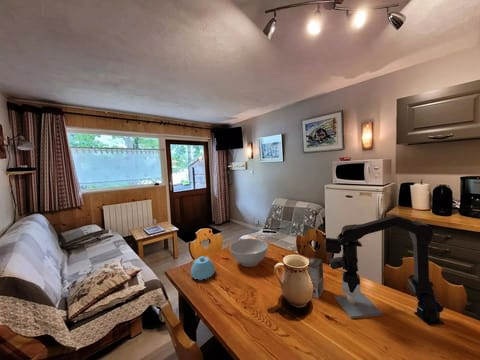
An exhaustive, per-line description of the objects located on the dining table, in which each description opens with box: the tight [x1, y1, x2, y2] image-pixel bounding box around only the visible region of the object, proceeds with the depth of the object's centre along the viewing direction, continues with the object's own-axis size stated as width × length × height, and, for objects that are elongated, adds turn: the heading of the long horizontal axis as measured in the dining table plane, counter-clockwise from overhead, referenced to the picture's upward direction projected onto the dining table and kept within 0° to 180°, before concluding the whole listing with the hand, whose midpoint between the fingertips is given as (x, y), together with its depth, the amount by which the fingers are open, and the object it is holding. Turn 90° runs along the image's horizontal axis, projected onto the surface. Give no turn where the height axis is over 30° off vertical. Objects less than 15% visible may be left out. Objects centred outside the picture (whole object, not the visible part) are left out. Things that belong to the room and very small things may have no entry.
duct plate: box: [334, 293, 384, 320], centre depth 89 cm, size 14×13×6 cm
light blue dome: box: [190, 255, 216, 281], centre depth 125 cm, size 15×15×12 cm
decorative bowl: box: [229, 238, 269, 268], centre depth 136 cm, size 27×27×12 cm
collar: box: [341, 273, 362, 296], centre depth 89 cm, size 7×7×5 cm
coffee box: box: [307, 256, 325, 299], centre depth 100 cm, size 9×6×16 cm
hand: (351, 287), depth 90 cm, fingers closed on collar, 7 cm apart
